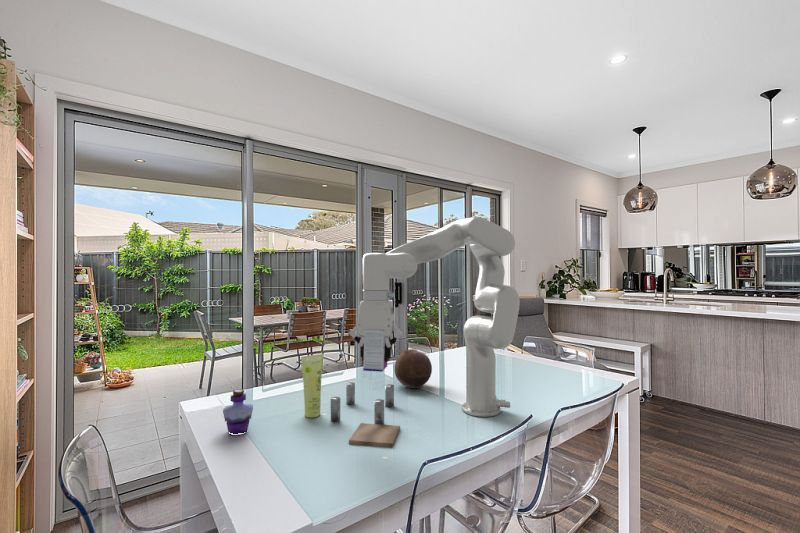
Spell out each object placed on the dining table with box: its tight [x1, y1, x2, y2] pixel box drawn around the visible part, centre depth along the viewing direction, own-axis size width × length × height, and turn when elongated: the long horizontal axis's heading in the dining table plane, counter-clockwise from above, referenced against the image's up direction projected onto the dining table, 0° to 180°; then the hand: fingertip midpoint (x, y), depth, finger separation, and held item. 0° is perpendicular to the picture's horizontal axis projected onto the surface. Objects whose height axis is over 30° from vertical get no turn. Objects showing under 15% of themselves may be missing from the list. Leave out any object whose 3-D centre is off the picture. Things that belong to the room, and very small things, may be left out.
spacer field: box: [330, 381, 395, 425], centre depth 130 cm, size 17×19×7 cm
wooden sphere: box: [394, 348, 433, 389], centre depth 159 cm, size 15×15×15 cm
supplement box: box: [362, 329, 388, 373], centre depth 112 cm, size 6×6×12 cm
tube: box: [300, 353, 324, 418], centre depth 128 cm, size 6×5×20 cm
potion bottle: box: [222, 389, 254, 434], centre depth 115 cm, size 9×9×12 cm
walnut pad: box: [348, 422, 401, 448], centre depth 112 cm, size 12×12×1 cm
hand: (375, 359), depth 112 cm, fingers closed on supplement box, 5 cm apart
